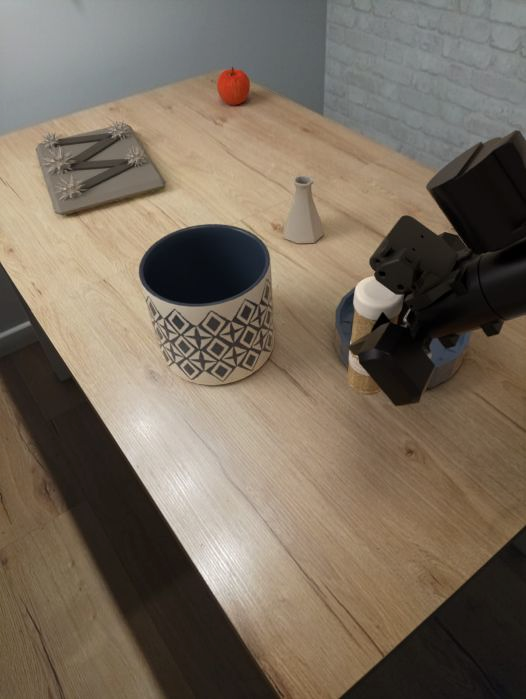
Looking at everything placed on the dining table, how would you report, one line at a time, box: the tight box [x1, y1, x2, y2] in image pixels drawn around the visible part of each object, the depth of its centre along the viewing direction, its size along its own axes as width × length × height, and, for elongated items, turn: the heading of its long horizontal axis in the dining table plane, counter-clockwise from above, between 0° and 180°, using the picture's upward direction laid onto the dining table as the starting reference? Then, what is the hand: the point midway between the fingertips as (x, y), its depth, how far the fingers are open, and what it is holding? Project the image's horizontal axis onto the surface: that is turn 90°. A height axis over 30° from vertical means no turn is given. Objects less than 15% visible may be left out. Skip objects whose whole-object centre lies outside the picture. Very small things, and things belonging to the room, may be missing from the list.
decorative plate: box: [34, 118, 168, 217], centre depth 105 cm, size 30×22×7 cm
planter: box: [138, 223, 275, 386], centre depth 67 cm, size 16×16×14 cm
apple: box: [216, 66, 251, 106], centre depth 125 cm, size 8×8×8 cm
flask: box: [282, 174, 325, 244], centre depth 85 cm, size 7×7×10 cm
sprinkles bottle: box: [346, 275, 404, 396], centre depth 53 cm, size 5×5×13 cm
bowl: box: [333, 286, 473, 389], centre depth 69 cm, size 17×17×4 cm
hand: (360, 335), depth 53 cm, fingers closed on sprinkles bottle, 4 cm apart
